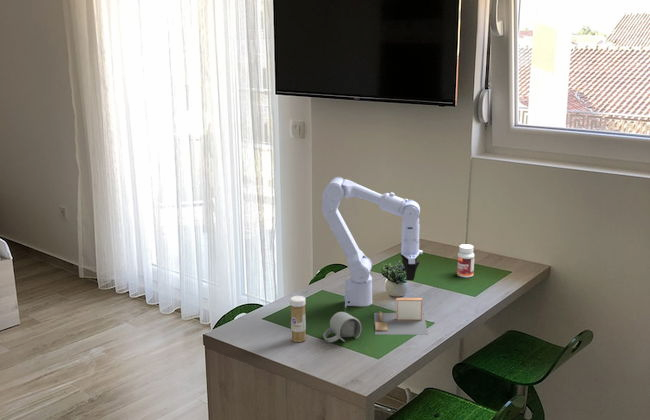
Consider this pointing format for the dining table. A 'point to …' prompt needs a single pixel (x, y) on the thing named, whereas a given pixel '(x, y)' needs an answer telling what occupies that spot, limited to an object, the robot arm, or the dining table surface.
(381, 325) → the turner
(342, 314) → the ceramic mug
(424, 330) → the mat
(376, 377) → the dining table surface
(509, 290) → the dining table surface
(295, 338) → the sprinkles bottle
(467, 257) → the pill bottle
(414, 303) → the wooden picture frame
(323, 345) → the dining table surface
